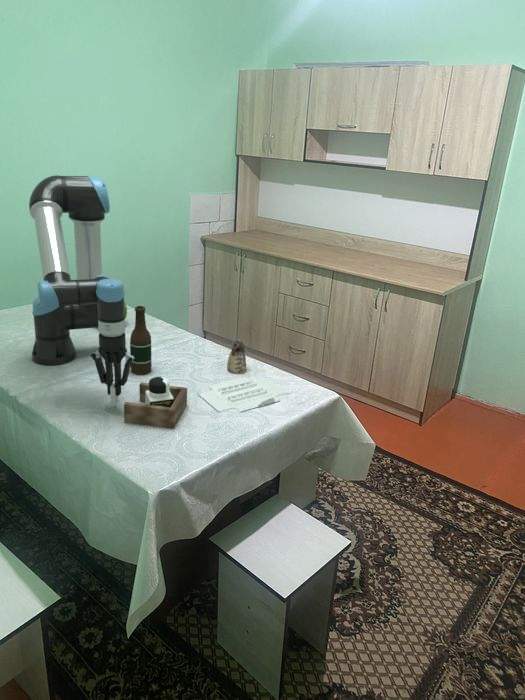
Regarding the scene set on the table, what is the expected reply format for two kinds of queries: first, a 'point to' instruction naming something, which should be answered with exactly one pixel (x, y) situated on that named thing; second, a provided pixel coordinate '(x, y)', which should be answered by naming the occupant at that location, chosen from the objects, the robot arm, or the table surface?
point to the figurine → (237, 358)
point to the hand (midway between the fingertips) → (114, 403)
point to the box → (156, 409)
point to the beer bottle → (140, 344)
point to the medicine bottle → (159, 392)
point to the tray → (242, 394)
